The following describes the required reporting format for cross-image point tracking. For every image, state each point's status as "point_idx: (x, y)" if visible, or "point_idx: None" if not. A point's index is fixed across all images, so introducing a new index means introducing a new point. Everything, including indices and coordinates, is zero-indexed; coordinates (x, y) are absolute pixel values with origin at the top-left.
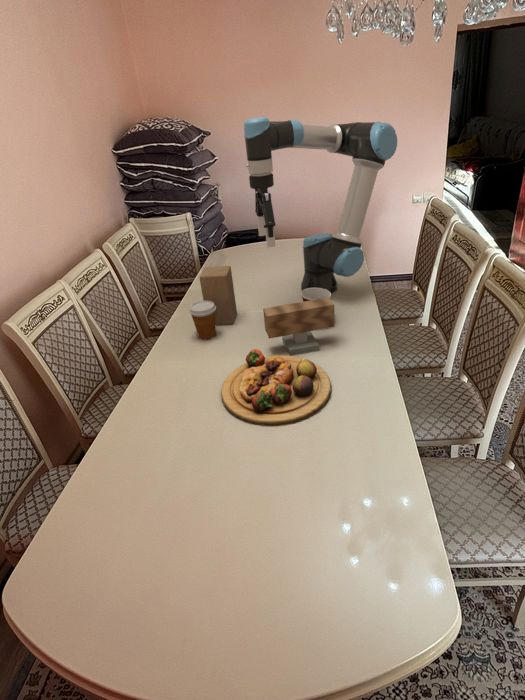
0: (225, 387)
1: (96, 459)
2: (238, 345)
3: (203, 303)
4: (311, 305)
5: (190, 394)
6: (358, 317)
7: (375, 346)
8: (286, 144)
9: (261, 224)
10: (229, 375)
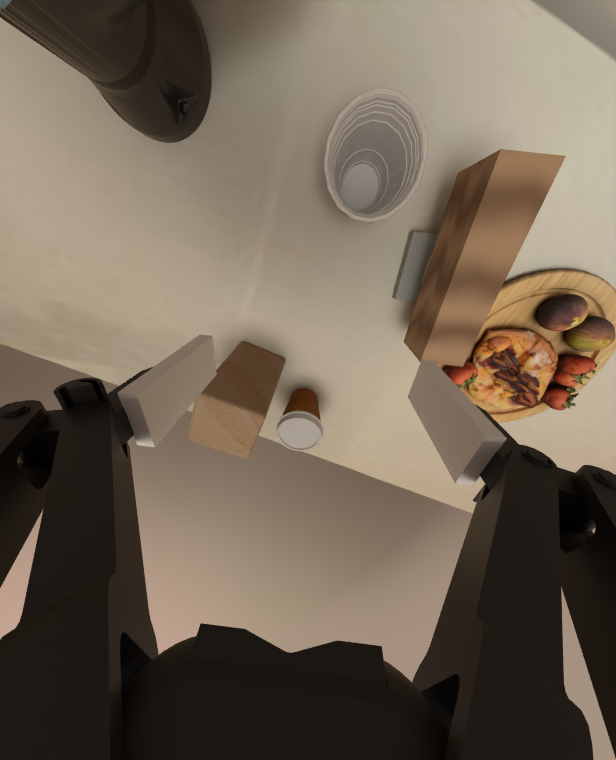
0: None
1: (473, 508)
2: (360, 368)
3: (286, 430)
4: (503, 240)
5: None
6: (402, 17)
7: (571, 71)
8: None
9: (182, 392)
10: None
